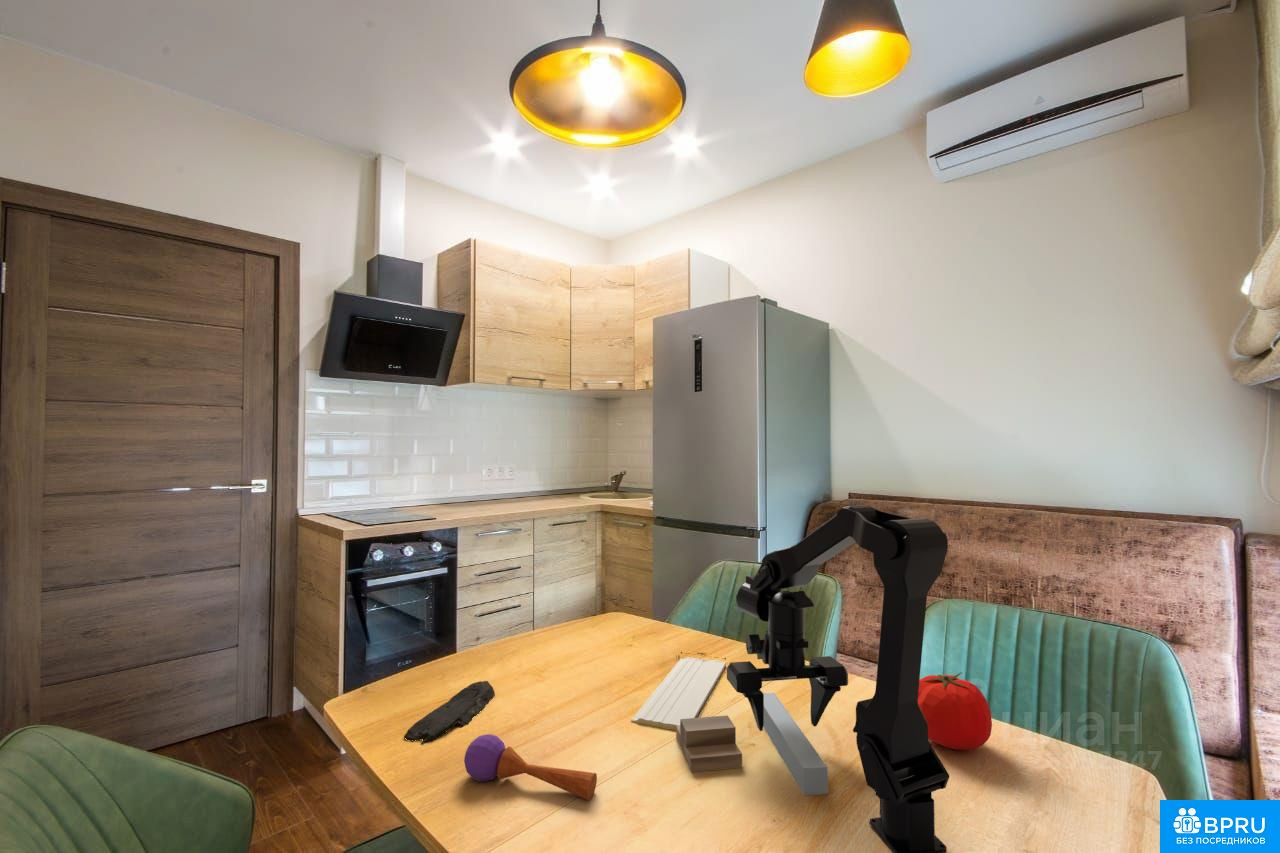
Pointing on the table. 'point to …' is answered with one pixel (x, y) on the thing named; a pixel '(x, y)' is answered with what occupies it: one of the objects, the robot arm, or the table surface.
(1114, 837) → the table surface
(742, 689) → the robot arm
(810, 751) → the slate stick
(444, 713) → the wood
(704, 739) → the ridge block
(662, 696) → the baseboard molding
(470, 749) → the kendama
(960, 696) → the tomato
